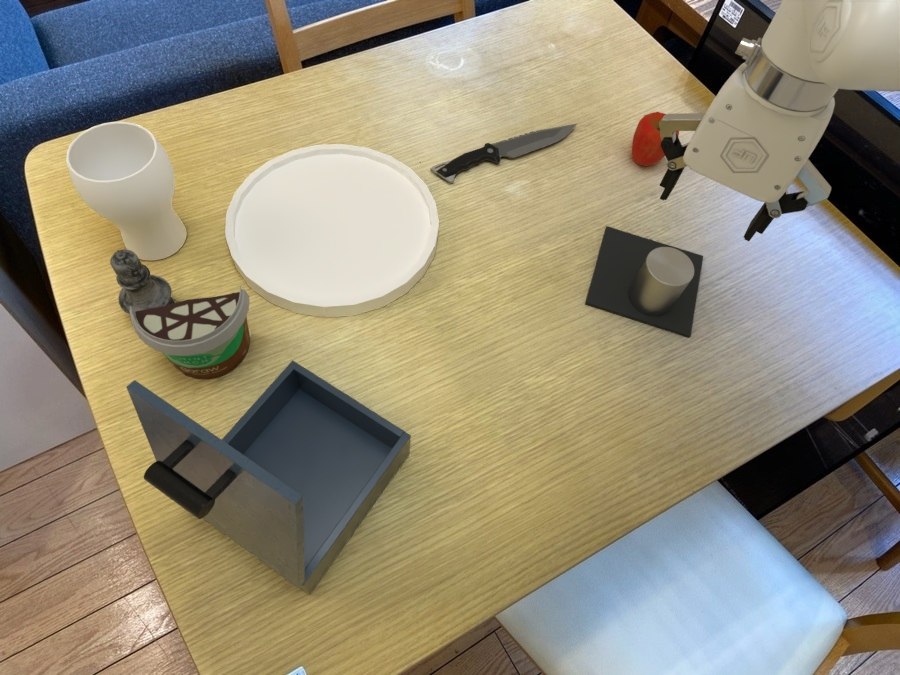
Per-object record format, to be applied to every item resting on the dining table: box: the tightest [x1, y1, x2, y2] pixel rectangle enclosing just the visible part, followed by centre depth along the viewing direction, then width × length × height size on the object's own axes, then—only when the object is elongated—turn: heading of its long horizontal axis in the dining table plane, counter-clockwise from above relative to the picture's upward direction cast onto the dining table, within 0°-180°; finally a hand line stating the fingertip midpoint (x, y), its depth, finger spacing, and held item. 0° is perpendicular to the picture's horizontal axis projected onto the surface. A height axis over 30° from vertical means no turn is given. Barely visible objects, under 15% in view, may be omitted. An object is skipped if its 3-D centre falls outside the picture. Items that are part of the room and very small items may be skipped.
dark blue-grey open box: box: [221, 360, 412, 596], centre depth 65 cm, size 18×16×6 cm
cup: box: [65, 121, 188, 261], centre depth 76 cm, size 11×11×15 cm
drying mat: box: [584, 225, 704, 338], centre depth 85 cm, size 14×14×1 cm
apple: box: [631, 111, 680, 167], centre depth 94 cm, size 6×6×8 cm
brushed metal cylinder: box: [628, 247, 694, 316], centre depth 80 cm, size 6×6×7 cm
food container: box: [129, 285, 251, 380], centre depth 69 cm, size 12×6×10 cm, turn 106°
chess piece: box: [109, 249, 177, 316], centre depth 71 cm, size 6×6×12 cm
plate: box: [224, 143, 440, 318], centre depth 84 cm, size 28×28×2 cm
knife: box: [429, 123, 578, 184], centre depth 95 cm, size 26×1×5 cm
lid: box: [126, 379, 305, 589], centre depth 50 cm, size 18×16×5 cm
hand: (707, 212), depth 68 cm, fingers open, 9 cm apart
